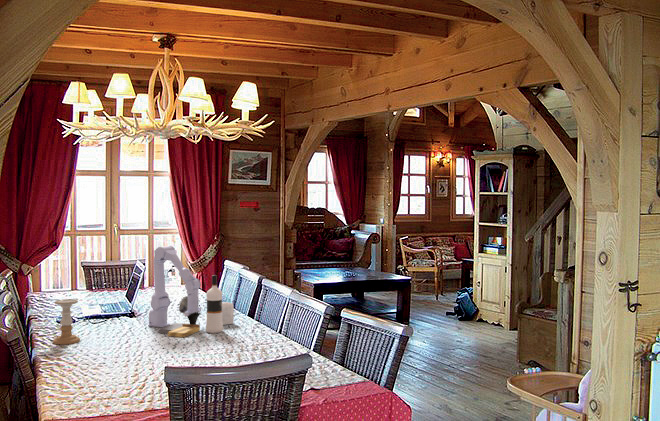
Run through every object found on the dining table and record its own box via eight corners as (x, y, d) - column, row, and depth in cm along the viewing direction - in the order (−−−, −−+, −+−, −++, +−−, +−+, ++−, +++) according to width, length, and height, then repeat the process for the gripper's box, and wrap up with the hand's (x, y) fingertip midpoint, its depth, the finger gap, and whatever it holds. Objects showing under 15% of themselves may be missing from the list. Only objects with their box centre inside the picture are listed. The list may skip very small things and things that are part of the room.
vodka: (204, 330, 334) (204, 274, 333) (221, 329, 337) (221, 273, 336) (207, 334, 325) (207, 276, 324) (224, 332, 329) (224, 275, 328)
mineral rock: (200, 313, 380) (200, 297, 380) (183, 315, 375) (183, 298, 375) (195, 309, 392) (195, 293, 391) (177, 311, 387) (177, 295, 387)
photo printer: (231, 322, 354) (231, 300, 354) (234, 324, 350) (234, 302, 350) (214, 324, 348) (214, 302, 348) (217, 326, 345) (217, 303, 344)
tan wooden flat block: (167, 335, 320) (167, 329, 320) (184, 329, 336) (184, 323, 336) (184, 337, 318) (184, 330, 318) (199, 330, 333) (199, 324, 333)
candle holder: (85, 340, 311) (85, 299, 310) (67, 345, 299) (67, 303, 299) (65, 338, 315) (65, 298, 314) (47, 343, 303) (46, 302, 303)
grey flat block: (158, 332, 327) (158, 328, 327) (174, 326, 343) (174, 322, 343) (172, 334, 325) (172, 330, 325) (187, 327, 340) (187, 323, 340)
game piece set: (250, 362, 273) (250, 353, 273) (215, 356, 284) (215, 347, 284) (277, 353, 290) (277, 344, 290) (243, 347, 300) (243, 339, 300)
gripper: (192, 304, 327) (192, 330, 327) (206, 300, 341) (206, 324, 341) (180, 303, 329) (180, 329, 329) (194, 299, 343) (194, 323, 343)
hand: (192, 327), depth 336 cm, fingers closed
